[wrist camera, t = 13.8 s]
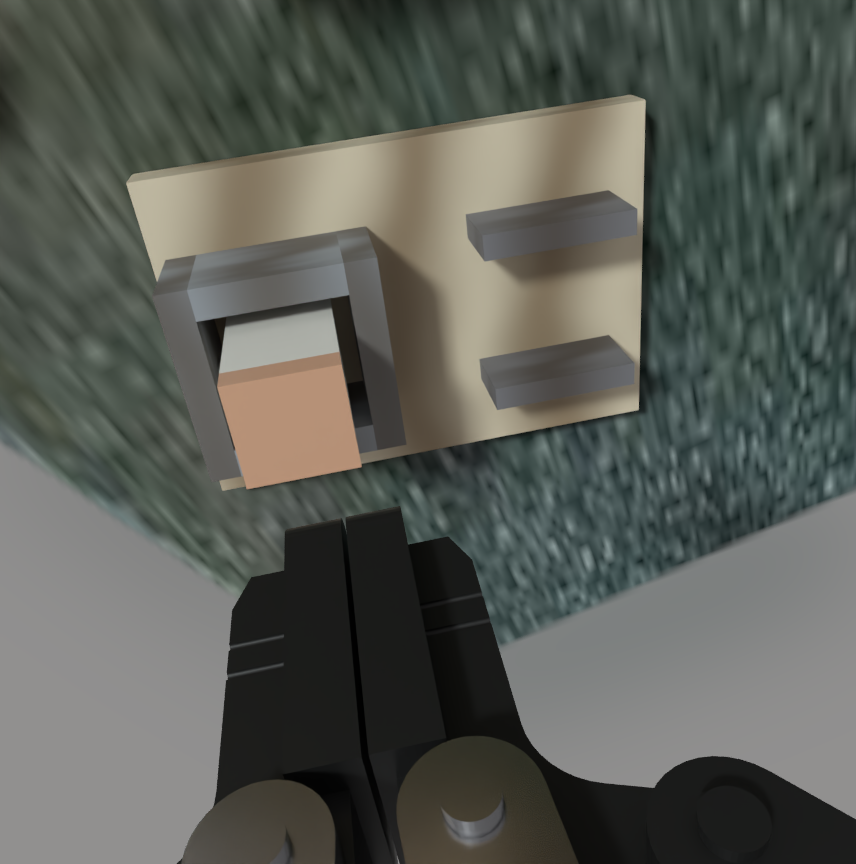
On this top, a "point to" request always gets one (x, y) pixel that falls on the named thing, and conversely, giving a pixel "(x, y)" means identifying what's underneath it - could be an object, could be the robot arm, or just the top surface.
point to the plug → (287, 394)
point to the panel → (420, 271)
